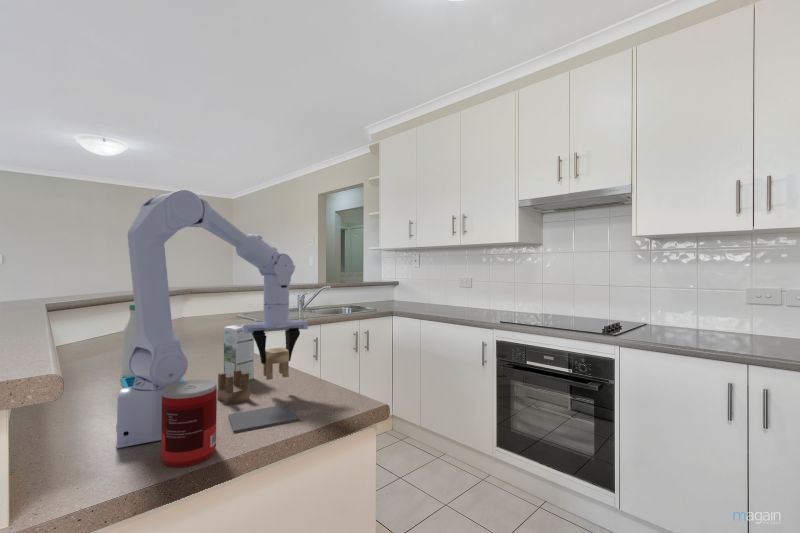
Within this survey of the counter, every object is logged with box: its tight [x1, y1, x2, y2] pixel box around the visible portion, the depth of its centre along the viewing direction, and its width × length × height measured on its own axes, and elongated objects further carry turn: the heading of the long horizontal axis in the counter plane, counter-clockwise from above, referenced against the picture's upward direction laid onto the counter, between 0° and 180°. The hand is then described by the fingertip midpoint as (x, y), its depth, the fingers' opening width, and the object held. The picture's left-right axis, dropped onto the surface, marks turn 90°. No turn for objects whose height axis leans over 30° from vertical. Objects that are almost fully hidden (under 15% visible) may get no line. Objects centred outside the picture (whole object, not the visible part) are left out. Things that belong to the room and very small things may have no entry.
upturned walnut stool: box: [217, 370, 250, 405], centre depth 86 cm, size 5×5×6 cm
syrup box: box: [223, 324, 255, 383], centre depth 102 cm, size 6×6×14 cm
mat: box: [227, 403, 301, 434], centre depth 75 cm, size 12×9×1 cm
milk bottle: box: [121, 303, 137, 378], centre depth 106 cm, size 8×8×20 cm
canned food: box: [160, 379, 218, 468], centre depth 60 cm, size 8×8×11 cm
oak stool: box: [262, 347, 290, 381], centre depth 89 cm, size 5×5×6 cm
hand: (275, 361), depth 89 cm, fingers closed on oak stool, 5 cm apart
